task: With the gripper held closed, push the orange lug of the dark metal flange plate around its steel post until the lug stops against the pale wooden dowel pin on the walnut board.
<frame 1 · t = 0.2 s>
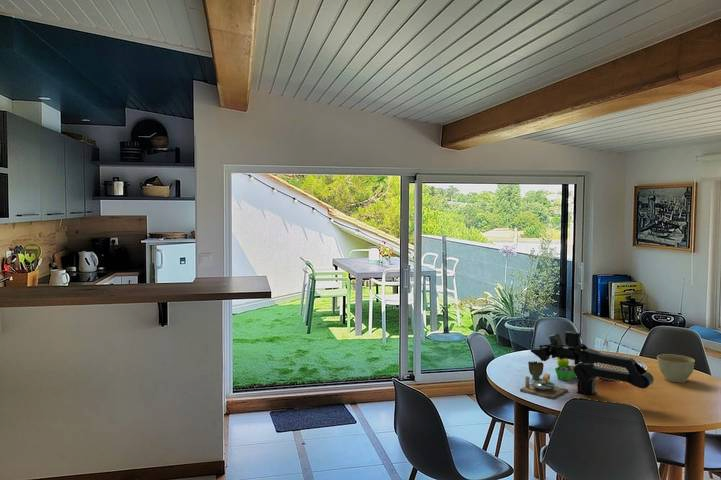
hand: (535, 348, 262), 16 cm above the table, tool horizontal, fingers open, 9 cm apart
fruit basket: (565, 378, 268), on the table
dowel pin: (527, 388, 251), resting on post board
planter bowl: (675, 380, 264), on the table
flange plate: (544, 381, 249), point 4 cm above the table, hinge at 0.0°
post board: (543, 391, 247), on the table
cup: (535, 378, 267), on the table
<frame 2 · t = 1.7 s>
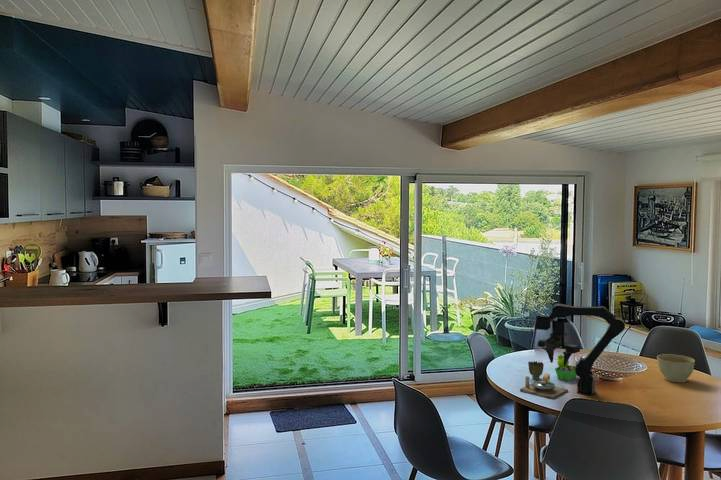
hand: (558, 364, 250), 12 cm above the table, tool pointing down, fingers open, 6 cm apart
nothing on the table moved.
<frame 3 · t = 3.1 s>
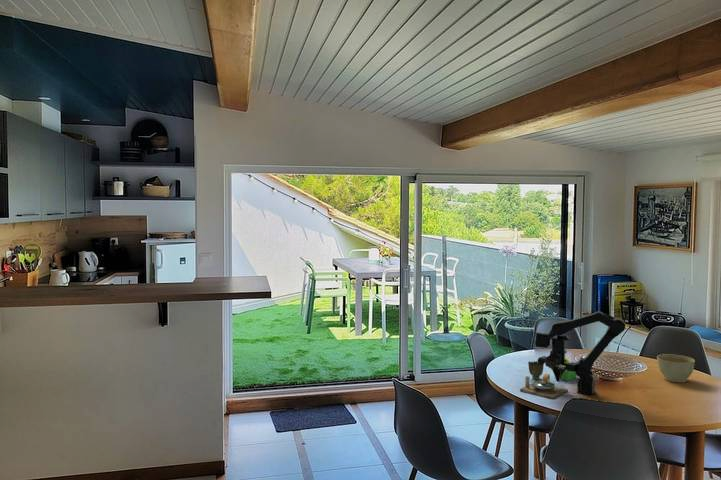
hand: (558, 381, 250), 4 cm above the table, tool pointing down, fingers closed
nothing on the table moved.
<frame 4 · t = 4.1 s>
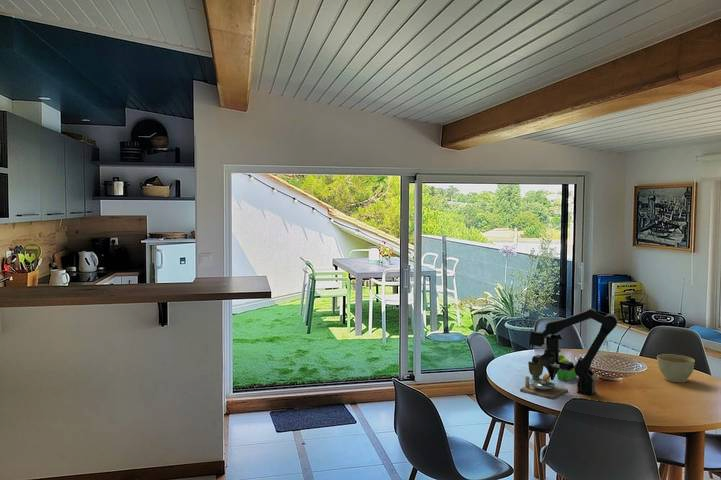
hand: (552, 380, 252), 4 cm above the table, tool pointing down, fingers closed
flange plate: (544, 381, 249), point 4 cm above the table, hinge at 0.0°, touching gripper
everything else where it was.
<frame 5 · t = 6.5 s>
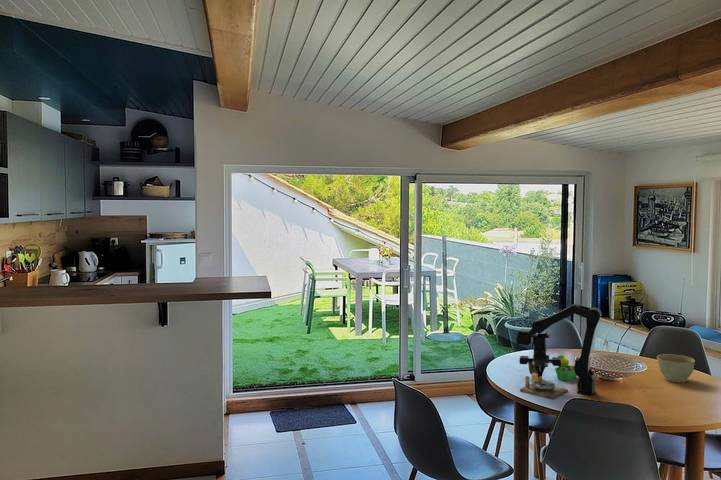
hand: (540, 378, 255), 4 cm above the table, tool pointing down, fingers closed
flange plate: (541, 381, 249), point 4 cm above the table, hinge at 40.0°, touching gripper
everything else where it was.
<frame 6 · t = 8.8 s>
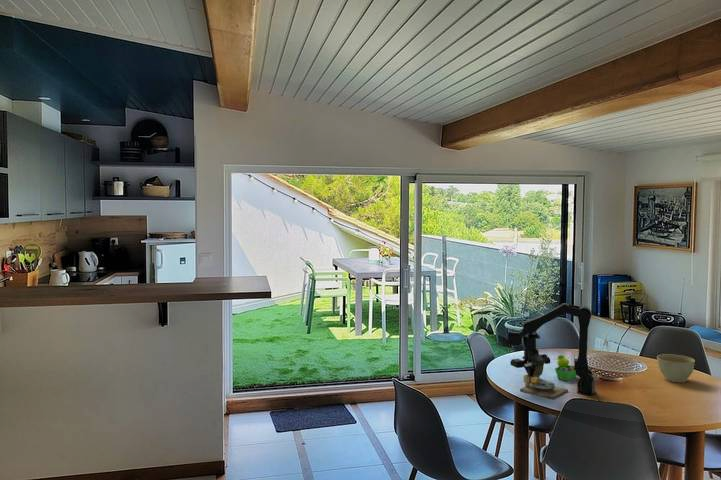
hand: (530, 379, 255), 4 cm above the table, tool pointing down, fingers closed
flange plate: (538, 381, 249), point 4 cm above the table, hinge at 74.9°, touching dowel pin, gripper
everything else where it was.
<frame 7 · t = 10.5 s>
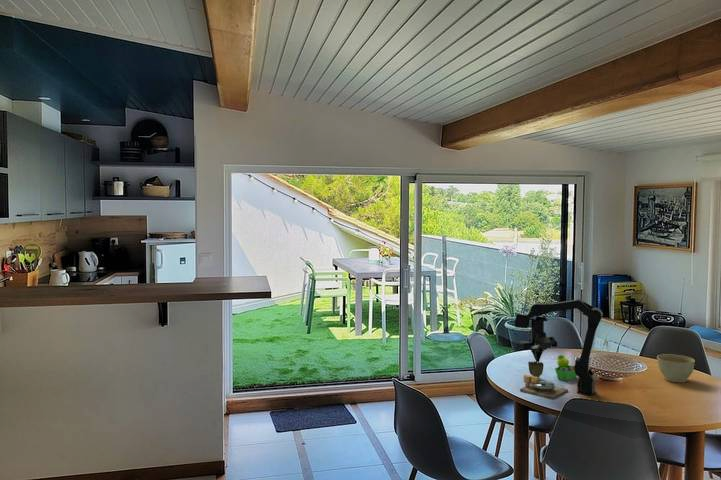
hand: (537, 361, 255), 12 cm above the table, tool pointing down, fingers closed
flange plate: (538, 381, 249), point 4 cm above the table, hinge at 74.9°, touching dowel pin
everything else where it was.
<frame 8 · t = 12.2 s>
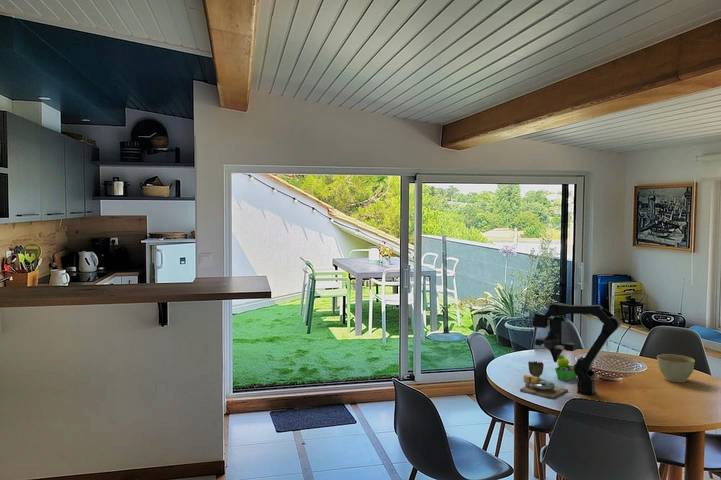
hand: (555, 362, 253), 12 cm above the table, tool pointing down, fingers closed
nothing on the table moved.
at the end: flange plate at +75° (first picture: +0°); flange plate 0.0 cm from the target spot, resting on post board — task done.
